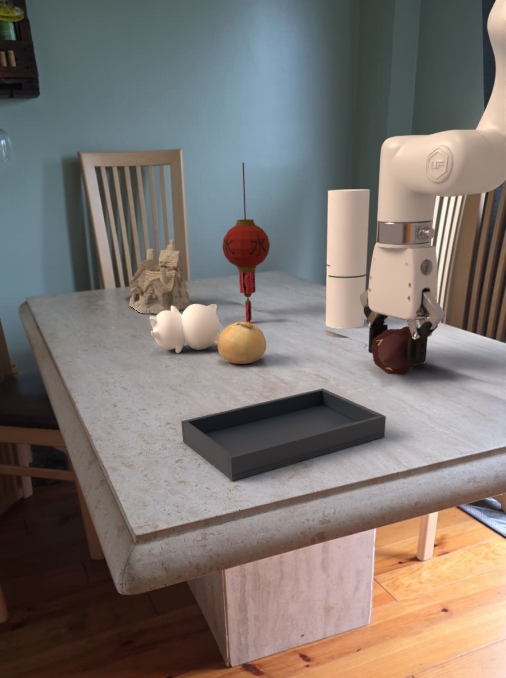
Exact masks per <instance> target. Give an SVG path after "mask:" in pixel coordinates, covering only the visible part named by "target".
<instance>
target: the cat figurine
mask: <svg viewBox="0 0 506 678" xmlns="http://www.w3.org/2000/svg"><path fill="white" fill-rule="evenodd" d="M217 307H218V305H217V304H215V303H211V304H209V305H205V304H201V303H194V304H190V306H188V307H187V308H184V310H183V312H182V313H181V311H180V310H178V309H177V308H176V307H175V306H173V305H172V306H171V311H168V310H165V311H162V312H160V313H159V314H156V316H153V315H150V316H149V324H150V326H151V328H152V330H150V335H151V337H152V338H154V340H155V342H156V343H157V344H158V346H159V347H160V348H162V349H165V350H168V351H171V350H174V351H175V353H176V354H180V353H181V351H182V350H183V348H184V345H185V344H186V345H187V346H188V347H189V348H191V349H193V350H197V351H201V350H205V349H207V348H209V347H218V339H219V336H220V332H221V322H220V319H219V317H218V315H217Z"/></svg>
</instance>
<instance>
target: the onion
mask: <svg viewBox="0 0 506 678" xmlns="http://www.w3.org/2000/svg"><path fill="white" fill-rule="evenodd" d="M254 320H255V319H252V321H250V323H249V322H246V321H243V320H241V321H236V322H234V323H231V324H229V325H228V326H226V327H225V328H224V329H222V331H221V333H219V339H218V346H217V350H218V354H219V356H220V357H221V358H223V360H225V361H227V362H228V363H230V364H234V365H246V364H251V363H255V362H256V361H258V360H261V359H262V357H263V356H264V354H265V352H266V349H267V340H266V337H265V335H264V332H262V330H261V329H260V328H259V327H258V326H257V325H255V324H253V322H254ZM251 322H252V323H251Z"/></svg>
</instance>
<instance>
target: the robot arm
mask: <svg viewBox="0 0 506 678" xmlns="http://www.w3.org/2000/svg"><path fill="white" fill-rule="evenodd" d="M486 29H487V32H488V34H487V35H488V37H489V42H490V44H491V48H492V51H493V55H494V62H495V78H494V83H493V87H492V91H491V95H490V98H489V100H488V102H487V104H486V108H485V110H484V112H483V113H482V116H481V118H480V120H479V122H478V124H477V126H476V128H475V129H450V130H449V129H448V130H444V131H440V132H439V131H438V132H435V133H433V134H411V135H409V134H408V135H395V136H390V137H388V138H386V139H385V140H383V141H384V142H383V143H382V145H381V148H380V154H379V155H380V158H379V174H378V175H379V179H378V196H377V198H378V199H377V216H376V217H377V218H376V220H377V221H376V242H375V244H374V246H373V247H374V248H373V252H372V256H371V261H370V264H371V265H370V269H369V277H368V278H369V279H368V288H367V289H365V292H364V293H363V294H361V295H360V301H361V303H362V306H363V308H364V317H365V318H366V326H367V327H369V328H368V349H367V351H368V353H370V354H373V353H372V350H371V346H372V345H373V339H374V338H375V337H377V336H378V335H380V334H381V333H383V332H384V331H386V330H388V329H389V327H388V326H389V325H388V324H385V323H386V321H387V320H388V318H389V317H390V318H394V319H397V320H402V321H406V323H407V326H409V329H410V332H411V335H412V338H409V340H408V349H407V365H409V366H413V365H415V366H418V365H422V364H425V363H426V361H427V350H428V338H430V337H431V336H432V335H433V332H434V331H436V330H437V328H438V325H439V324H440V323H441V322H442V320H443V319H444V317H445V316H446V311H445V310H444V309H443V307H442V306H441V305H440V304H439V302H438V288H439V287H438V283H439V282H438V281H439V279H438V278H439V276H438V275H439V274H438V271H439V269H438V258H437V251H436V246H435V245H432V240H433V238H434V237H435V236H436V229H435V228H433V227H434V225H433V224H434V217H435V216H434V215H435V203H436V197H443V198H451V197H452V198H453V197H463V196H467V195H477V194H485V193H489V192H491V191H493V190H495V189H497V188H499V187H500V186H501V185H502V184H504V182H506V0H495V2H494V3H493V6H492V7H491V10H490V12H489V14H488V18H487V25H486ZM418 322H419V325H418Z"/></svg>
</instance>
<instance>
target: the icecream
mask: <svg viewBox="0 0 506 678" xmlns="http://www.w3.org/2000/svg"><path fill="white" fill-rule="evenodd" d="M409 338H412V335H411V332H410V329H409V326H408V325H406V326H403V327H402V328H388V330H386V331H384V332H383V333H381V334H380V335H378V336H377V337H375V338H374V339H373V345H372V346H371V350H372V353H371V354H372V358H373V359H372V360H373V363H374V365H376V366H377V367H378V368H379V369H381V370H382V371H383V372H385V373H386V374H390V375H391V374H392V375H394V374H395V375H405V374H408V372H409V371H410V370H412V368H414V367H415V366H416V365H413V366H409V365H407V349H408V340H409Z"/></svg>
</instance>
